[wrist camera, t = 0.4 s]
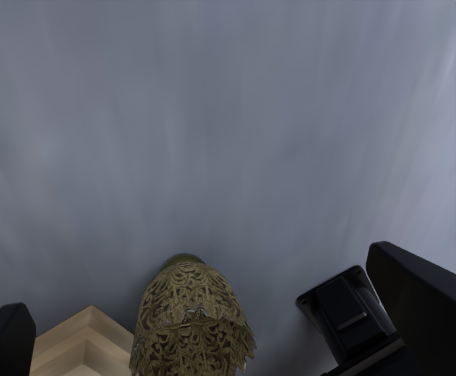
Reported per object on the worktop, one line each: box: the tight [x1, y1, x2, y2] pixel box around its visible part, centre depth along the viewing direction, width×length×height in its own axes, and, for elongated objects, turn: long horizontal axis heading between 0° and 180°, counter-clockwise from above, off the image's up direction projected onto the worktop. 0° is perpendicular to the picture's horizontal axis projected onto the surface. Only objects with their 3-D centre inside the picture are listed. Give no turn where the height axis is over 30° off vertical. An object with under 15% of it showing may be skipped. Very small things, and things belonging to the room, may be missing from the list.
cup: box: [129, 254, 257, 376], centre depth 23 cm, size 8×7×8 cm
